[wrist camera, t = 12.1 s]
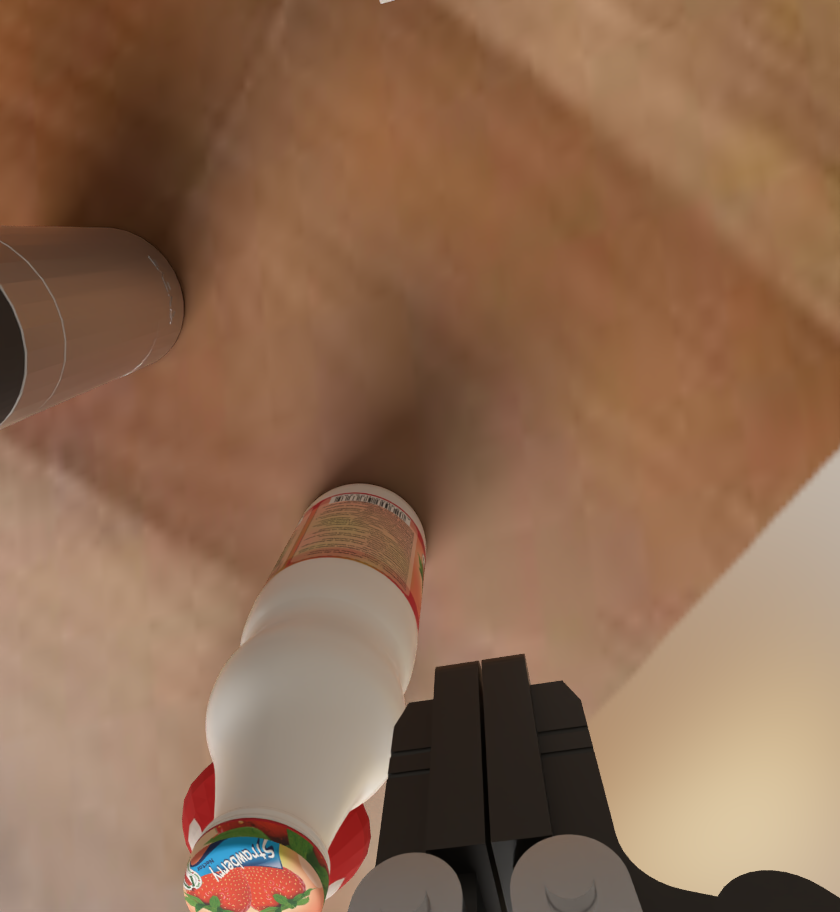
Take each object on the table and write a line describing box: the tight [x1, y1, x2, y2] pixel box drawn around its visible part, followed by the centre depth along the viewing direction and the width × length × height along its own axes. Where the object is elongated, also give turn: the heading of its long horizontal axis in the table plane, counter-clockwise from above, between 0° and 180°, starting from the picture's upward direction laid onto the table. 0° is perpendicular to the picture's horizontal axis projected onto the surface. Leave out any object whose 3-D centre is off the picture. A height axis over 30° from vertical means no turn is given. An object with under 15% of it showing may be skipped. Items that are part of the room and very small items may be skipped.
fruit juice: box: [183, 483, 426, 912], centre depth 36 cm, size 9×9×28 cm
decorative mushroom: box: [182, 762, 371, 900], centre depth 49 cm, size 14×14×15 cm
